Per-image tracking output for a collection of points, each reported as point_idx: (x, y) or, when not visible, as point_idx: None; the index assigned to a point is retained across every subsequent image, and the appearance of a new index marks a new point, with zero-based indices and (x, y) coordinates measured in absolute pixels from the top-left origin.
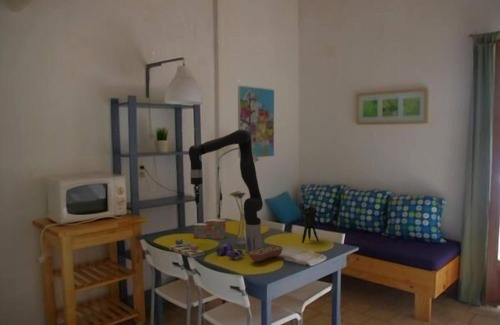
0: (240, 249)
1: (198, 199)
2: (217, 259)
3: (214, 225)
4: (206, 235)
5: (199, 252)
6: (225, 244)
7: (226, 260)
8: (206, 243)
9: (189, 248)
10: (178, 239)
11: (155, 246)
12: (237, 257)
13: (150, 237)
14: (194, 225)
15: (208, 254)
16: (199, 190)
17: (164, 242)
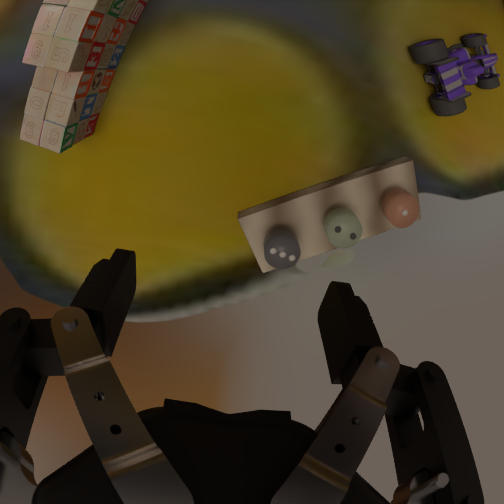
0: (482, 35)
1: (375, 327)
2: (474, 136)
3: (102, 20)
4: (109, 70)
5: (415, 183)
6: (448, 70)
7: (494, 115)
8: (221, 86)
9: (338, 204)
10: (268, 254)
11: (192, 301)
12: (490, 67)
13: (61, 297)
14: (61, 148)
15: (410, 139)
16: (364, 454)
17: (138, 266)
